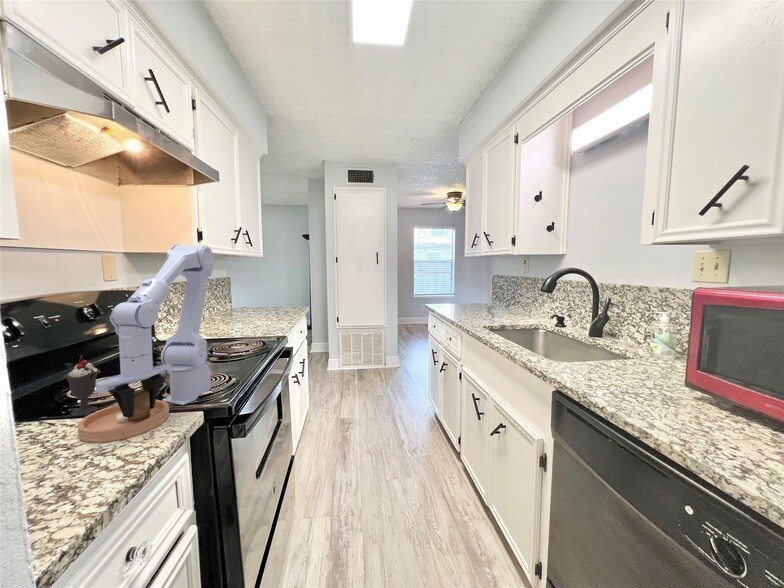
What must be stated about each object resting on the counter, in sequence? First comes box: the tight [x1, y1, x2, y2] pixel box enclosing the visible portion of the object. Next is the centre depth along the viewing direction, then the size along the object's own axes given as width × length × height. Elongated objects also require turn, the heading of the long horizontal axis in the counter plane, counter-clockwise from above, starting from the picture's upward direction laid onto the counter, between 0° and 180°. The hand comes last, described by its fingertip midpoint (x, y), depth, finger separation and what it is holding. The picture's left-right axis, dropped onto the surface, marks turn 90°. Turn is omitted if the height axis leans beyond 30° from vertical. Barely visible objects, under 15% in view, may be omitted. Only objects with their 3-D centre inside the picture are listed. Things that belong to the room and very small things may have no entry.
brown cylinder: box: [128, 388, 150, 422], centre depth 71 cm, size 4×4×6 cm
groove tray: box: [77, 399, 170, 444], centre depth 73 cm, size 16×16×2 cm
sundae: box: [63, 355, 101, 417], centre depth 78 cm, size 7×7×15 cm
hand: (139, 412), depth 71 cm, fingers closed on brown cylinder, 4 cm apart
